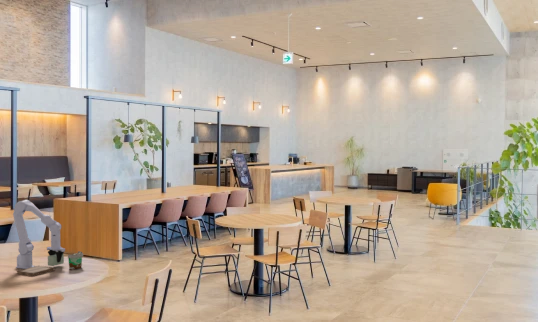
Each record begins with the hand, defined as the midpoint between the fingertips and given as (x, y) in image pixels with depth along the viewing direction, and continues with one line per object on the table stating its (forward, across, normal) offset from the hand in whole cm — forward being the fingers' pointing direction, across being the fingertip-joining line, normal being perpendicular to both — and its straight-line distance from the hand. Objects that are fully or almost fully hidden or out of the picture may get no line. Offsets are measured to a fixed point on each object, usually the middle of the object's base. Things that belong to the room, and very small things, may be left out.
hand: (56, 261), depth 347 cm
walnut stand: (+3, 0, +16) cm, 16 cm away
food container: (+4, -16, -3) cm, 17 cm away
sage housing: (+2, 0, 0) cm, 2 cm away
